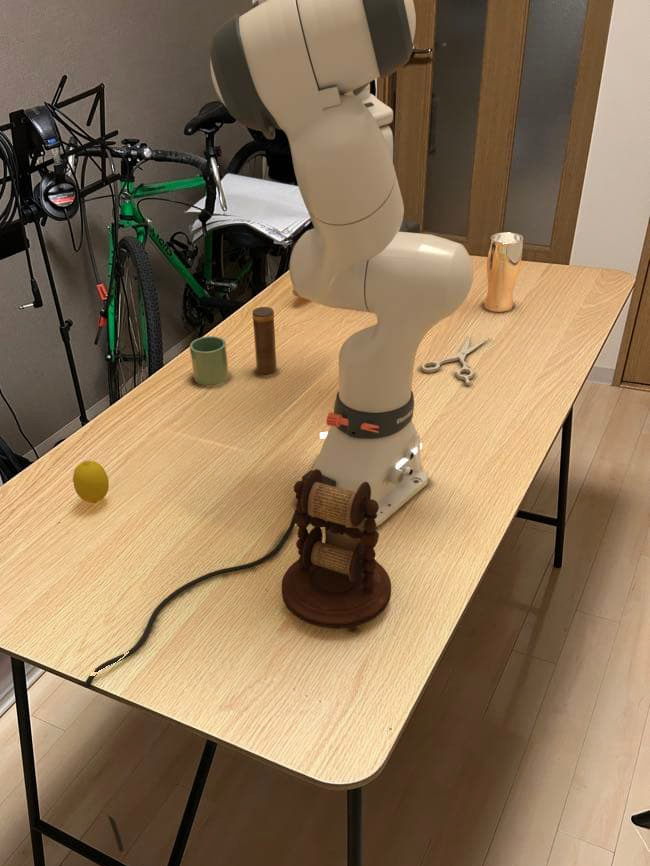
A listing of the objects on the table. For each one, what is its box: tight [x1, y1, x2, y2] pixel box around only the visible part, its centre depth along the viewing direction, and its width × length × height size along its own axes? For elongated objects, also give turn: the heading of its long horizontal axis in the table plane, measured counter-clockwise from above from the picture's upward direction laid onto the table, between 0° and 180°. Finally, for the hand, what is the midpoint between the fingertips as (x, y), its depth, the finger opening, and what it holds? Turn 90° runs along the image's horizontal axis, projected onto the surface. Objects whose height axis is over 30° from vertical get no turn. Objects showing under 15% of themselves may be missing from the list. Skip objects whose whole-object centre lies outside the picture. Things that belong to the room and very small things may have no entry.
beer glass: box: [483, 231, 524, 313], centre depth 175 cm, size 7×7×15 cm
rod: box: [251, 306, 278, 376], centre depth 160 cm, size 4×4×13 cm
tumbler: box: [189, 335, 230, 386], centre depth 161 cm, size 7×7×8 cm
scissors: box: [421, 333, 491, 386], centre depth 162 cm, size 11×1×20 cm
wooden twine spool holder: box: [281, 469, 392, 633], centre depth 106 cm, size 15×15×20 cm
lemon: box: [72, 460, 110, 504], centre depth 132 cm, size 6×6×8 cm
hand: (342, 196), depth 142 cm, fingers open, 8 cm apart
